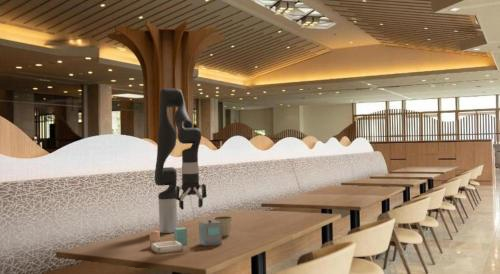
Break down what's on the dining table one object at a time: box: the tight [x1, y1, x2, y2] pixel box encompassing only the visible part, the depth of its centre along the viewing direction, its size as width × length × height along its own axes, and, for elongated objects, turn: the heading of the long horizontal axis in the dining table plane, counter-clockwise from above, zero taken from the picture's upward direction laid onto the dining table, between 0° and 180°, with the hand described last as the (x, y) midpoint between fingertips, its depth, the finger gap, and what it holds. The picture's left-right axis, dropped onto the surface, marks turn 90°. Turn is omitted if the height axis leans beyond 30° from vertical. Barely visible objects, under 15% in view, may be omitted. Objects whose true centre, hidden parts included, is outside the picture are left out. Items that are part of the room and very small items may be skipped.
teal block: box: [173, 227, 188, 246], centre depth 234 cm, size 4×4×7 cm
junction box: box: [198, 219, 223, 248], centre depth 230 cm, size 7×8×11 cm
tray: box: [151, 239, 184, 254], centre depth 222 cm, size 11×11×2 cm
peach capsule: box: [149, 229, 161, 248], centre depth 229 cm, size 4×4×7 cm
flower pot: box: [212, 215, 233, 237], centre depth 251 cm, size 9×9×9 cm
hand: (191, 208), depth 231 cm, fingers open, 8 cm apart
